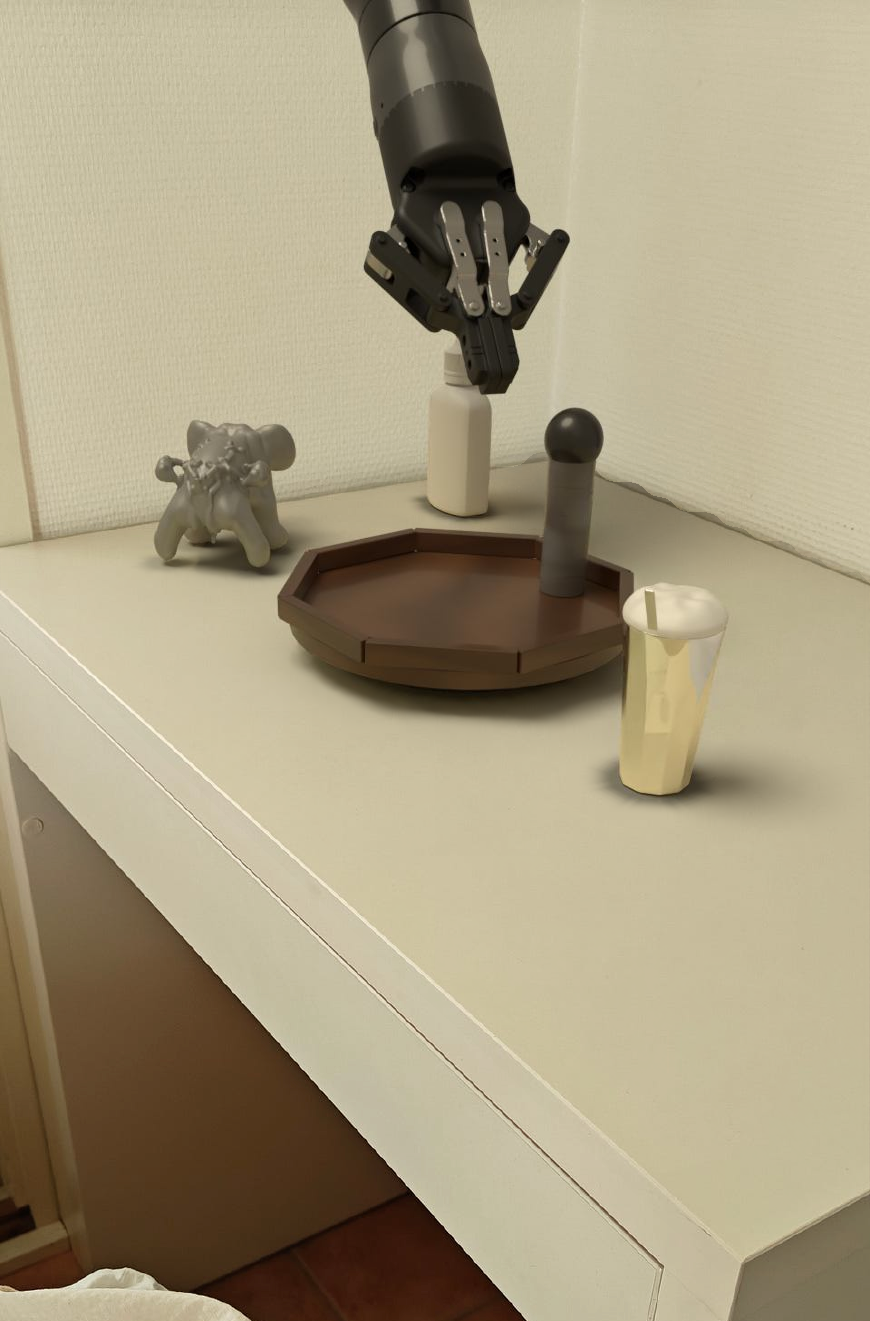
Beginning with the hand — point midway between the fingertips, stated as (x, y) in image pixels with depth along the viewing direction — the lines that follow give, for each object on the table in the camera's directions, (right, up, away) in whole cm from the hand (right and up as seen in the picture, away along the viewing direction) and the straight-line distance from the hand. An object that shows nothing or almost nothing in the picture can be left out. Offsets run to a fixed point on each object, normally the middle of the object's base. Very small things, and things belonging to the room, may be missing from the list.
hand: (497, 386), depth 79 cm
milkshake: (+6, -25, -16) cm, 30 cm away
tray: (-2, -15, -3) cm, 15 cm away
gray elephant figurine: (-17, -6, +11) cm, 22 cm away
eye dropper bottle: (-2, -1, +20) cm, 20 cm away
